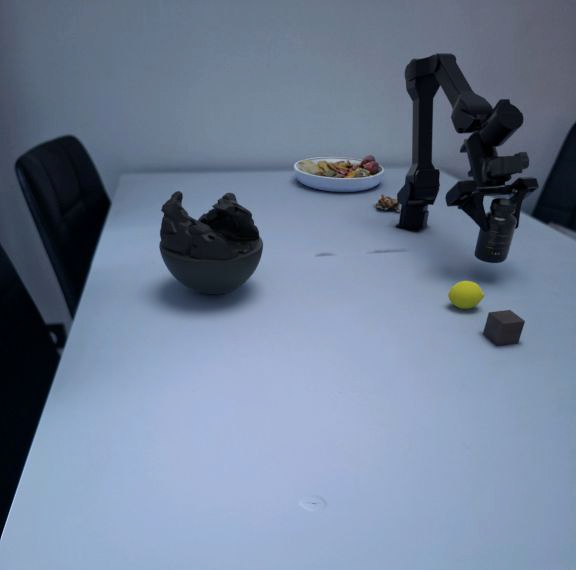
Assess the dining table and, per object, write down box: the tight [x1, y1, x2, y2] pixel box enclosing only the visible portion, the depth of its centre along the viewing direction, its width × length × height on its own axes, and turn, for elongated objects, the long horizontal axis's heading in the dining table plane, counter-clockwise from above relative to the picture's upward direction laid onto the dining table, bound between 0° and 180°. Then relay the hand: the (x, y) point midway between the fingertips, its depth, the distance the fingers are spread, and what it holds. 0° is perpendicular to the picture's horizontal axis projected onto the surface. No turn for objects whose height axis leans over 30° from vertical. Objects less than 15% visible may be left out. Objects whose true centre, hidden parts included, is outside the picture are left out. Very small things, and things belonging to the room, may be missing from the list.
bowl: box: [293, 154, 385, 193], centre depth 178 cm, size 30×30×8 cm
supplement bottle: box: [473, 197, 517, 264], centre depth 111 cm, size 7×7×12 cm
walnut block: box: [482, 309, 526, 347], centre depth 94 cm, size 4×4×4 cm
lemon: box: [447, 280, 485, 310], centre depth 103 cm, size 7×5×5 cm
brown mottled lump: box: [375, 193, 401, 214], centre depth 158 cm, size 7×12×4 cm, turn 173°
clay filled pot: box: [158, 190, 264, 295], centre depth 103 cm, size 20×20×19 cm
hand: (501, 229), depth 109 cm, fingers closed on supplement bottle, 7 cm apart
